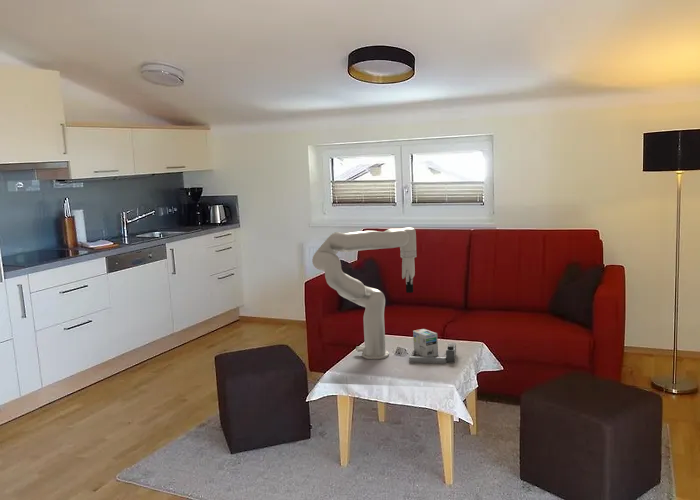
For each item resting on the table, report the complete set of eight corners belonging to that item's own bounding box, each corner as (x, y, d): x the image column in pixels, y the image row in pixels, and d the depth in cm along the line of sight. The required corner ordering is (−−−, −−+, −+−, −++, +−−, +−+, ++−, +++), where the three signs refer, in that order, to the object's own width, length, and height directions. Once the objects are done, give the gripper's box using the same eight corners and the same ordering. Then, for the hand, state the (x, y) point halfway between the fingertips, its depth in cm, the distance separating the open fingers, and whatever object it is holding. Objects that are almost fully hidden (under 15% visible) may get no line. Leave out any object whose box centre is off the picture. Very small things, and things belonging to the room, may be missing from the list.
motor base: (409, 362, 276) (408, 348, 275) (413, 351, 291) (413, 338, 290) (454, 363, 271) (453, 349, 270) (456, 352, 286) (456, 338, 285)
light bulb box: (438, 355, 283) (438, 332, 282) (426, 358, 280) (425, 335, 279) (425, 350, 293) (424, 328, 291) (413, 352, 289) (412, 330, 288)
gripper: (403, 251, 300) (404, 289, 302) (397, 256, 285) (399, 295, 288) (418, 251, 298) (419, 289, 300) (414, 256, 283) (415, 295, 286)
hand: (409, 292), depth 294 cm, fingers closed
